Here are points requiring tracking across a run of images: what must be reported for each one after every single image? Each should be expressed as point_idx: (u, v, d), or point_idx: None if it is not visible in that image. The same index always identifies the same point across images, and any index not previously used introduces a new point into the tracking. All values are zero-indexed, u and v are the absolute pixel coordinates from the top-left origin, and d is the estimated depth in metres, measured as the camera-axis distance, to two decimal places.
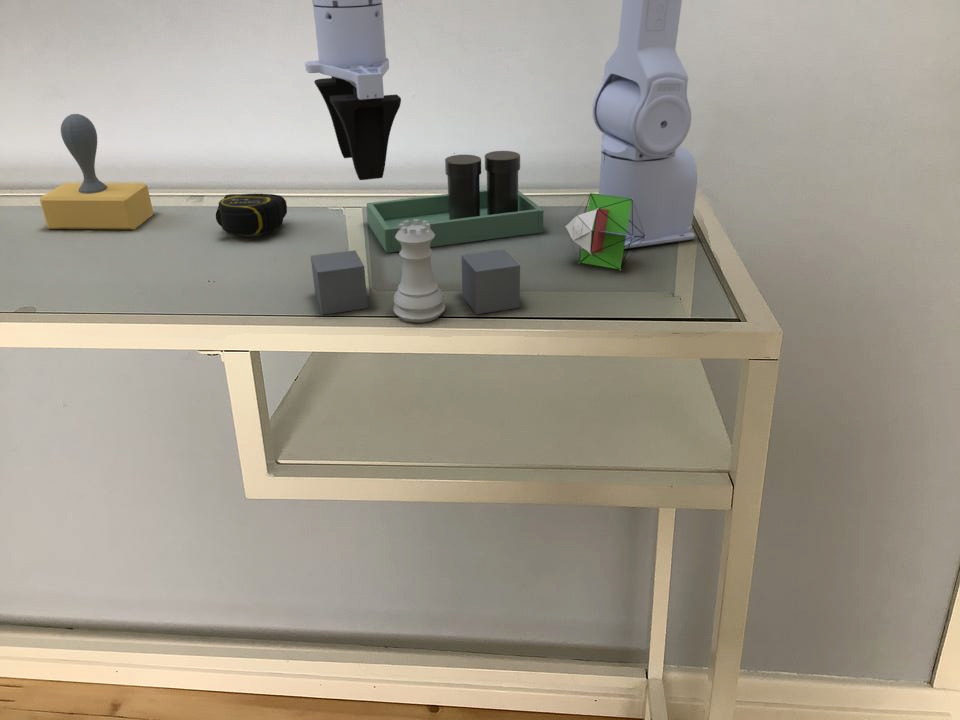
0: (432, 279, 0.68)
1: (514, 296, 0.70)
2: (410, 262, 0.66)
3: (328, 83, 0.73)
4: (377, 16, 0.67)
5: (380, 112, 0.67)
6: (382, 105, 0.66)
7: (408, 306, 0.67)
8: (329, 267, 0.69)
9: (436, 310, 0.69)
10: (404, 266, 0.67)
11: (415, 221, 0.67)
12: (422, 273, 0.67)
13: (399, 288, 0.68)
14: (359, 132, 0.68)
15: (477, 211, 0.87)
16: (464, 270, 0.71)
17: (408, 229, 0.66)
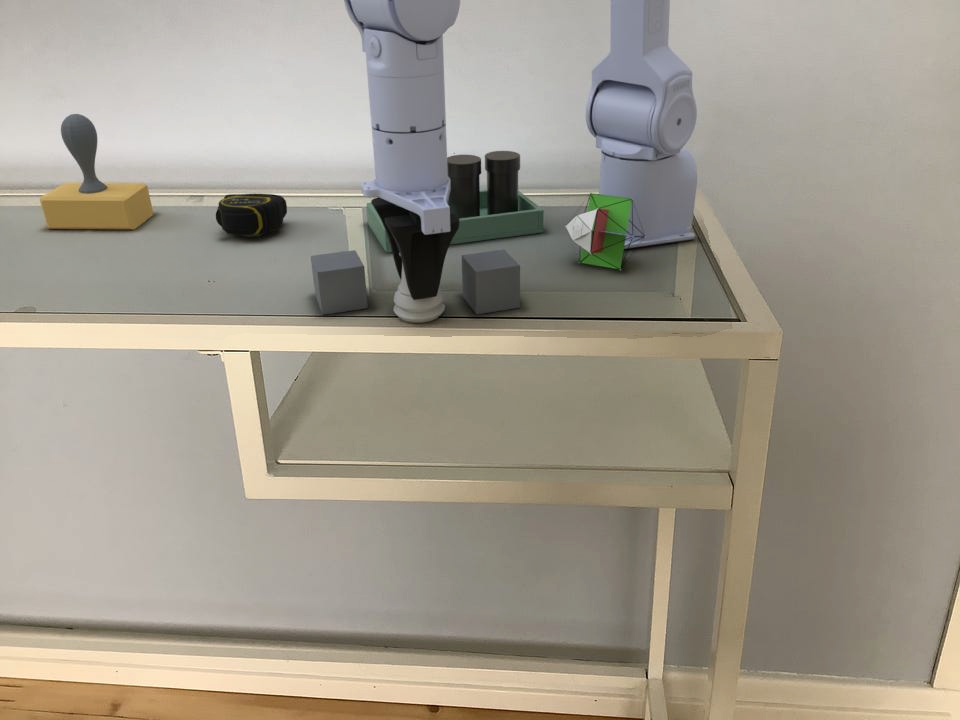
0: None
1: (514, 296, 0.70)
2: None
3: (387, 205, 0.67)
4: (441, 139, 0.62)
5: (437, 233, 0.64)
6: None
7: (408, 306, 0.67)
8: (329, 267, 0.69)
9: (436, 310, 0.69)
10: None
11: None
12: None
13: (399, 288, 0.68)
14: (414, 253, 0.65)
15: (477, 211, 0.87)
16: (464, 270, 0.71)
17: None
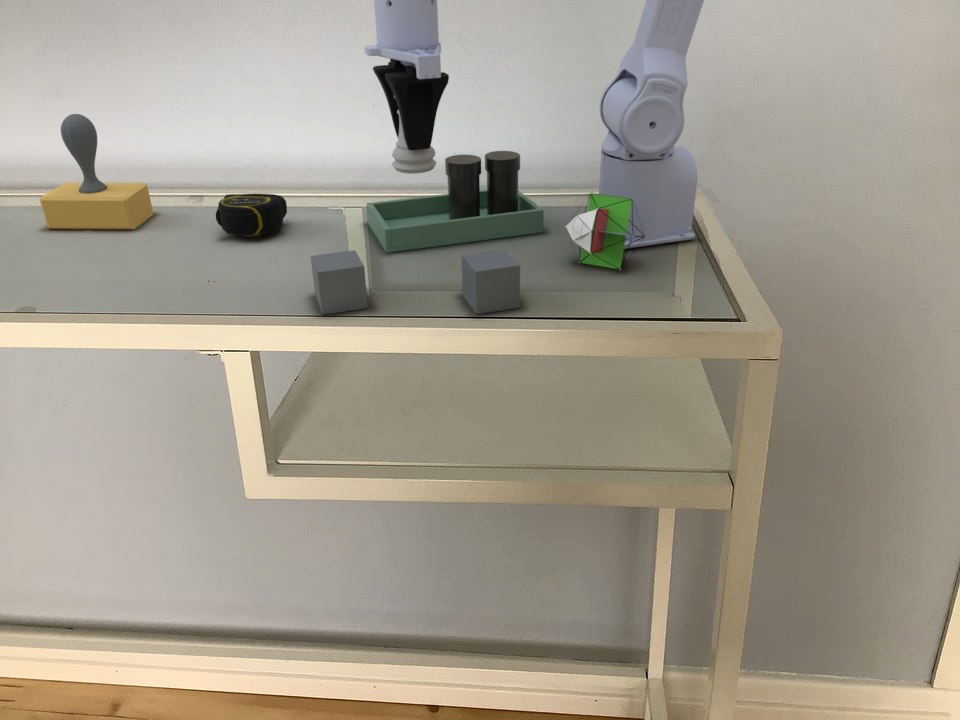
0: None
1: (514, 296, 0.70)
2: None
3: (387, 69, 0.78)
4: (432, 3, 0.73)
5: (429, 88, 0.75)
6: (432, 81, 0.73)
7: (405, 157, 0.78)
8: (329, 267, 0.69)
9: (429, 163, 0.79)
10: None
11: None
12: None
13: (397, 144, 0.79)
14: (410, 106, 0.75)
15: (477, 211, 0.87)
16: (464, 270, 0.71)
17: None
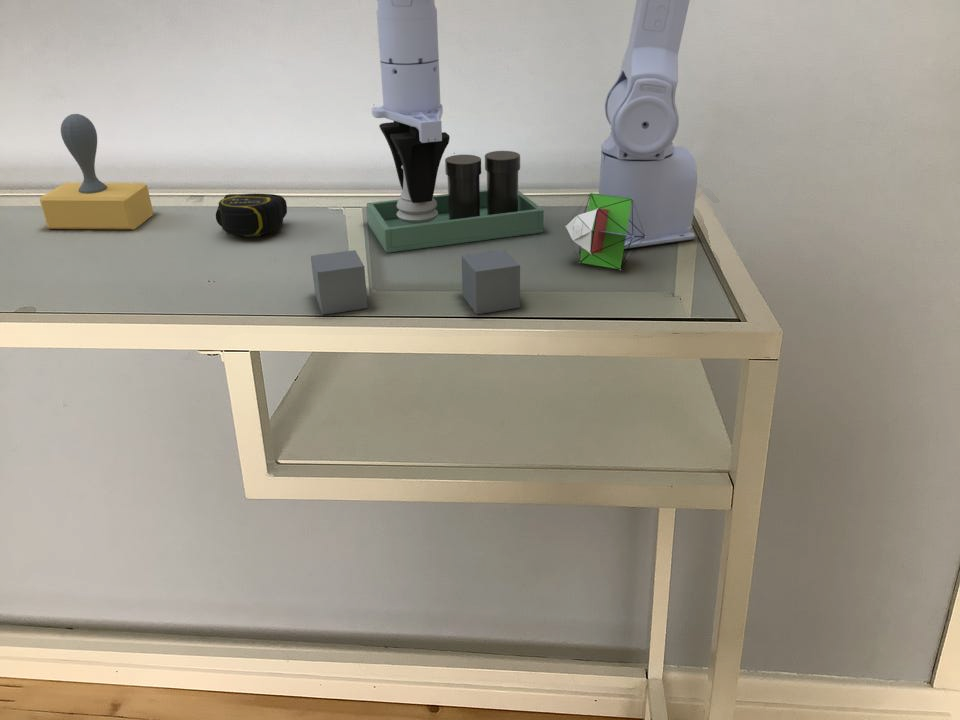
0: None
1: (514, 296, 0.70)
2: None
3: (392, 128, 0.83)
4: (435, 70, 0.78)
5: (432, 147, 0.81)
6: (434, 142, 0.79)
7: (408, 209, 0.84)
8: (329, 267, 0.69)
9: (431, 214, 0.85)
10: None
11: None
12: None
13: (401, 196, 0.85)
14: (414, 163, 0.81)
15: (477, 211, 0.87)
16: (464, 270, 0.71)
17: None
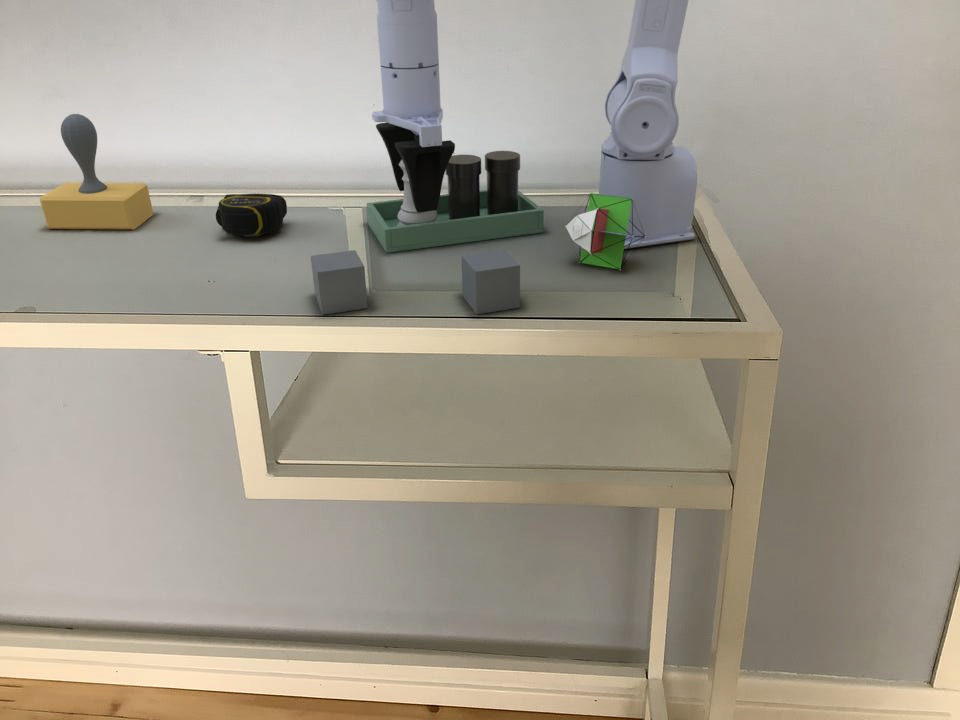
0: None
1: (514, 296, 0.70)
2: None
3: (388, 128, 0.85)
4: (435, 75, 0.79)
5: (437, 155, 0.80)
6: (440, 150, 0.78)
7: (409, 220, 0.85)
8: (329, 267, 0.69)
9: None
10: (405, 188, 0.84)
11: None
12: None
13: (402, 207, 0.86)
14: (418, 172, 0.80)
15: (477, 211, 0.87)
16: (464, 270, 0.71)
17: None
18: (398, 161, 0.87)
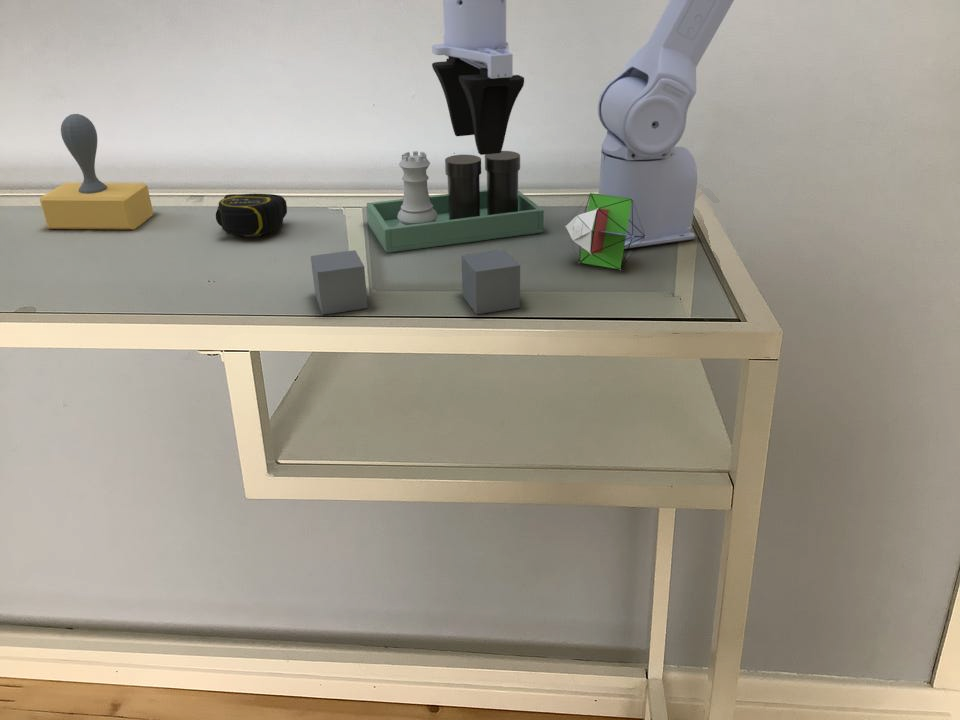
0: (428, 199, 0.85)
1: (514, 296, 0.70)
2: (411, 184, 0.84)
3: (446, 66, 0.79)
4: (502, 2, 0.72)
5: (504, 91, 0.73)
6: (508, 84, 0.71)
7: (409, 220, 0.85)
8: (329, 267, 0.69)
9: None
10: (405, 188, 0.84)
11: (414, 152, 0.84)
12: (420, 194, 0.84)
13: (402, 207, 0.86)
14: (483, 110, 0.74)
15: (477, 211, 0.87)
16: (464, 270, 0.71)
17: (408, 158, 0.83)
18: (455, 103, 0.81)
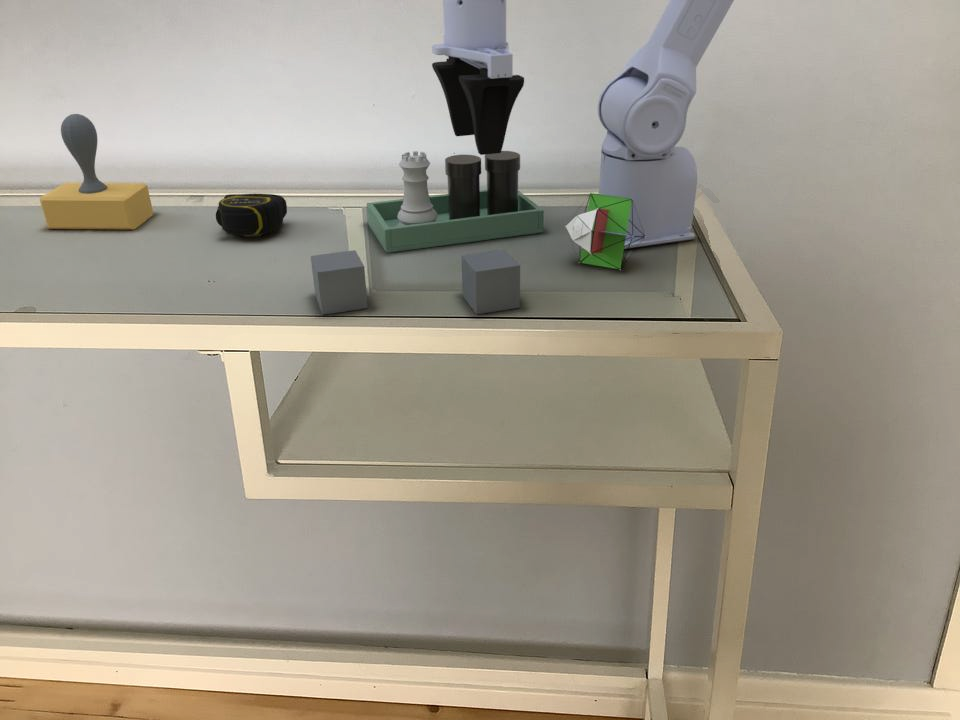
0: (428, 199, 0.85)
1: (514, 296, 0.70)
2: (411, 184, 0.84)
3: (446, 66, 0.79)
4: (502, 2, 0.72)
5: (504, 91, 0.73)
6: (508, 84, 0.71)
7: (409, 220, 0.85)
8: (329, 267, 0.69)
9: None
10: (405, 188, 0.84)
11: (414, 152, 0.84)
12: (420, 194, 0.84)
13: (402, 207, 0.86)
14: (483, 110, 0.74)
15: (477, 211, 0.87)
16: (464, 270, 0.71)
17: (408, 158, 0.83)
18: (455, 103, 0.81)
